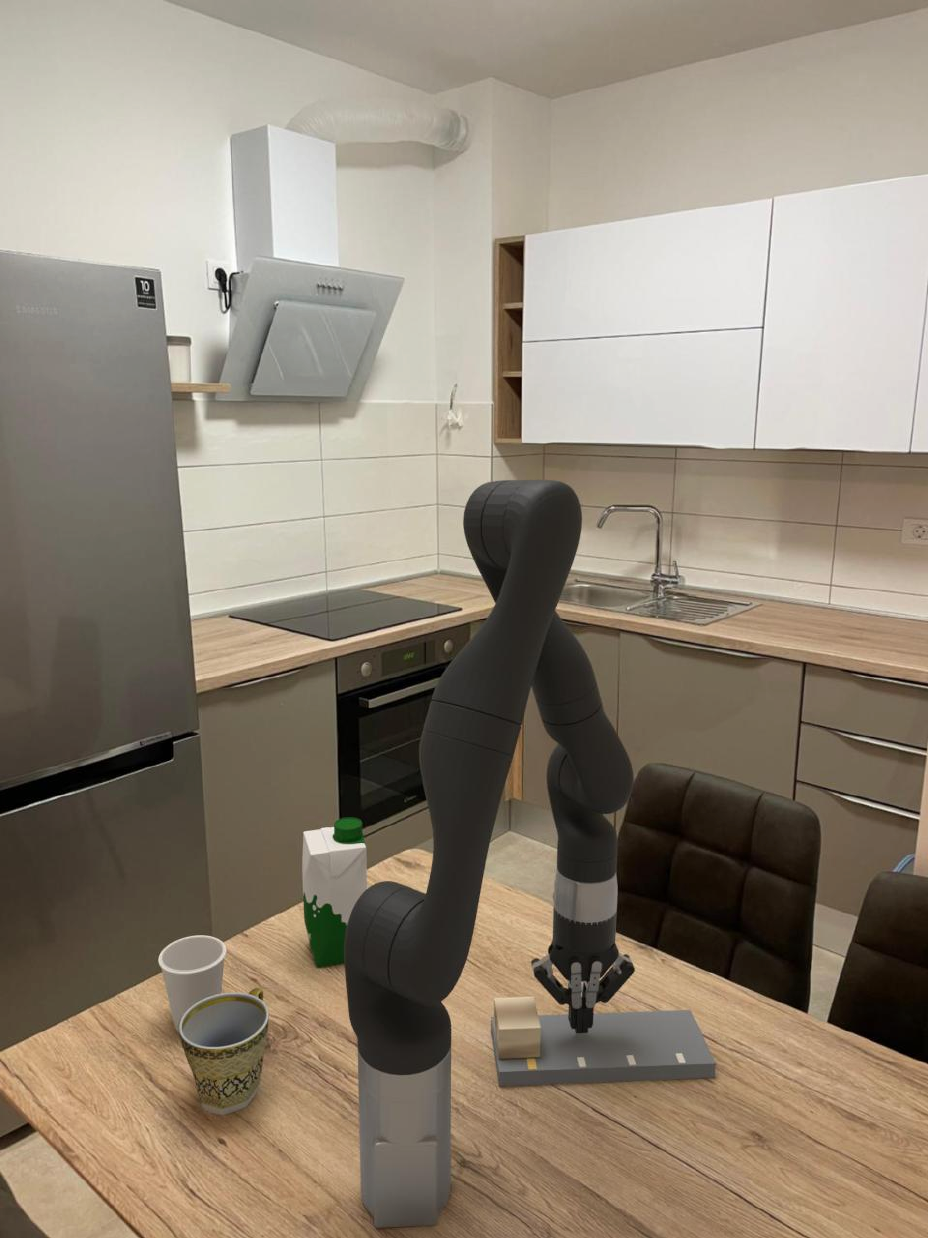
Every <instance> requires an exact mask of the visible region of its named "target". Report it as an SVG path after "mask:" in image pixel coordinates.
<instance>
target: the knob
mask: <svg viewBox="0 0 928 1238" xmlns="http://www.w3.org/2000/svg"><path fill="white" fill-rule="evenodd" d="M537 1009H538V1008H537V1004H536V1000H535V996H514V997H513V996H512V997H511V996H510V997H509V996H508V997H494V998H493V1017H494V1032H495V1038H496V1045H497V1052H498V1059H504V1058H530V1057H540V1038H541V1027H540V1022H539V1018H538V1015H539V1013H538V1010H537Z"/></svg>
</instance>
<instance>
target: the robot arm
mask: <svg viewBox="0 0 928 1238" xmlns="http://www.w3.org/2000/svg"><path fill="white" fill-rule="evenodd" d="M463 511H464V512H463V518H462V526H463V533H464V538H465V541H466V544H467V545H466V546H467V547H468V551H469V552H470V556H471V557H472V559H473V562H474V563H475V566H476V568H477V570H478V571H479V573H480V576H481V578H482V579H483V581H484V584H485V585H486V587H487V589H488V591H489V593H490V595H491V597H492V599H493V601H494V606H493V608H492V609H491V611H490V613H489V615H488V617H487V618H486V620H485V621H484V622H483V623H482V625H480V627H479V629H477V631H476V633H475V634H474V635H473V636H472V637H471V638H470V639H469V641H467V643H465V645H464V646H463V648H461V650H460V651H459V652H458V653H457V654H456V656H454V658H453V659H452V661H451V662H450V663H449V665H447V667H446V669H445V670H444V672H443V673H442V675H441V676H440V677H439V679H438V681H437V683H436V685H435V688H434V691H433V693H432V697H431V701H430V704H429V706H428V707H429V708H428V711H427V715H426V717H425V721H424V725H423V729H422V731H421V732H422V733H421V736H420V740H419V747H418V759H419V760H418V761H419V768H420V774H421V779H422V785H423V790H424V795H425V799H426V805H427V808H428V812H429V813H428V814H429V817H430V823H431V828H432V838H433V839H432V840H433V844H432V845H433V848H432V860H431V861H432V862H431V869H430V873H429V874H430V875H429V878H428V884H427V889H426V892H422V891H420V890H418V889H415V888H412V887H411V886H407V885H405V884H402V883H401V882H400V883H399V882H396V881H392V880H391V881H389V880H386V881H385V880H384V881H383V880H382V881H379V882H377V883H375V884H373V885H371V886H369V887H367V890H365V891H364V892H363V894H362V895H361V896H360V897H359V899H358V900H357V902H356V903H355V905H354V907H353V909H352V911H351V914H350V917H349V920H348V923H347V928H346V933H345V941H344V963H343V964H344V974H345V975H344V976H345V986H346V987H345V988H346V999H347V1011H348V1019H349V1022H350V1025H351V1029H352V1030H353V1033H354V1034H355V1036H356V1040H357V1041H356V1042H357V1080H358V1083H357V1084H358V1086H357V1087H358V1089H357V1090H358V1092H357V1093H358V1127H359V1131H358V1132H359V1137H358V1138H359V1164H360V1167H359V1168H360V1169H359V1170H360V1196H361V1201H362V1203H363V1205H364V1207H365V1209H366V1210H367V1211H368V1212H369V1214H370V1215H371V1216H372V1217H373V1223H374V1224H373V1225H374V1227H375V1228H377V1229H378V1228H397V1227H398V1228H401V1227H415V1226H416V1227H417V1226H436V1225H437V1224H438V1223H439V1222H438V1221H439V1220H438V1219H439V1218H438V1216H439V1214H440V1212H441V1211H442V1210H443V1208H445V1206H446V1205H447V1203H448V1201H449V1198H450V1195H451V1190H452V1187H451V1186H452V1184H451V1183H452V1181H451V1180H452V1177H451V1176H452V1175H451V1173H452V1172H451V1171H452V1167H451V1166H452V1163H451V1162H452V1160H451V1158H452V1151H451V1150H452V1148H451V1147H452V1146H451V1145H452V1144H451V1143H452V1138H451V1137H452V1136H451V1135H452V1134H451V1133H452V1132H451V1131H452V1130H451V1129H452V1022H451V1021H452V1020H451V1017H450V1014H449V1011H448V1009H447V1007H446V1006H445V1004H443V1001H444V1000H445V999H446V998H447V997H448V996H449V995H450V994H451V993H452V992H453V990H454V989H455V987H456V986H457V985H458V984H457V983H458V982H459V980H460V978H461V977H462V973H463V971H464V968H465V965H466V963H467V959H468V956H469V952H470V949H471V944H472V941H473V935H474V930H475V926H476V920H477V913H478V909H479V905H480V904H479V902H480V897H481V892H482V886H483V880H484V875H485V869H486V863H487V859H488V852H489V848H490V844H491V840H492V834H493V832H494V831H493V830H494V829H495V827H494V826H495V823H496V819H497V815H498V811H499V807H500V804H501V800H502V796H503V792H504V788H505V785H506V782H507V778H508V775H509V772H510V769H511V765H512V762H513V759H514V755H515V753H516V749H517V744H518V741H519V737H520V735H521V734H520V733H521V730H522V725H523V722H524V717H525V712H526V708H527V703H528V699H529V697H530V692H531V689H532V693H533V696H534V699H535V702H536V706H537V710H538V712H539V716H540V719H541V722H542V726H543V728H544V729H545V731H546V734H548V736H549V738H551V739H552V740H554V741H555V742H556V743H557V745H556V746H555V747H554V749H553V750H552V752H551V753H550V756H549V758H548V763H547V768H546V787H547V795H548V798H549V803H550V808H551V812H552V818H553V822H554V826H555V828H556V834H557V847H556V871H555V875H554V882H553V892H552V899H553V900H552V901H553V908H552V911H553V913H552V939H551V943H550V944H549V946H548V949H547V954H546V955H545V956H543V957H542V958H539V957H538V958H537V957H535V958H533V959H531V961H530V962H531V968H532V971H533V976H534V978H535V979H536V980H537V981H538V982H539V983H540V984H541V986H542V987H543V988H544V989H545V990H546V991H547V992H548V994H549V995H550V996H551V997H552V998H553V999H554V1000H555V1001H556V1003H558V1005H560V1006H564V1005H568V1012H567V1014H568V1019H569V1023H570V1026H571V1028H572V1029H575V1032H576V1034H577V1033H588V1028H592V1026H593V1014H594V1010H595V1009H594V1008H595V1006H596V1004H598V1003H600V1002H601V1003H603V1004H604V1003H605V1004H607V1003H608V1002H609V1001H610V1000H611V999H612V998H613V997H614V996H615V995H616V993H617V992H618V991H619V990H620V989H621V988H622V987H623V985H625V983H626V982H627V981H628V980H629V979H630V978H631V976H633V974H634V973H635V972H636V968H635V965H634V963H633V961H632V959H631V957H630V955H629V954H627V953H624V954H622V952H621V953H620V952H619V948H618V947H617V944H616V937H617V933H616V931H617V929H616V928H617V913H618V911H617V909H618V889H619V888H618V880H617V864H618V863H617V862H618V834H617V830H616V828H615V826H614V825H613V824H612V823H611V822H610V820H609V819H608V818H606V816H605V815H610V814H614V813H616V812H619V811H620V810H621V809H622V808H624V807H625V806H626V804H627V803H628V801H629V800H630V798H631V796H632V794H633V789H634V781H635V779H634V769H633V765H632V761H631V759H630V757H629V754H628V752H627V749H626V748H625V746H624V744H623V742H622V740H621V739H620V736H619V735H618V732H617V731H616V729H615V727H614V725H613V724H612V722H611V721H610V719H609V717H608V716H607V714H606V712H605V710H604V706H603V702H602V697H601V694H600V690H599V687H598V681H597V679H596V675H595V671H594V668H593V665H592V663H591V661H590V659H589V656H588V655H587V653H586V651H585V648H584V647H583V646H582V644H581V643H580V641H579V640H578V638H577V637H576V636H575V634H574V633H573V632H572V630H571V629H570V628H569V627H568V626H567V623H565V622H564V620H563V619H562V617H561V616H560V615H559V614H558V613H557V611H556V609H557V606H558V604H559V602H560V599H561V596H562V594H563V590H564V588H565V585H566V582H567V580H568V578H569V575H570V573H571V569H572V567H573V564H574V561H575V558H576V555H577V551H578V548H579V544H580V539H581V535H582V529H583V524H582V523H583V513H582V512H583V511H582V505H581V503H580V500H579V496H578V495H577V493H576V491H575V490H574V489H573V488H572V487H571V486H570V485H569V484H568V483H565V482H564V481H561V480H560V481H559V480H555V479H553V480H551V479H515V480H513V479H510V480H508V479H506V480H494V481H487V482H485V483H483V484H481V485H479V486H478V487H476V489H475V490H473V491H472V493H471V495H470V496H469V498H468V500H467V501H466V504H465V507H464V510H463ZM552 966H554V967H555V968H556V969H557V971H558V972H559V973H560V975H561V976H563V978H564V979H565V980H567V987H564V985H563V984H562V983H561V982H560V981H559V979H558V978H557V977H556V976H555V975H554V969H553V967H552Z"/></svg>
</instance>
